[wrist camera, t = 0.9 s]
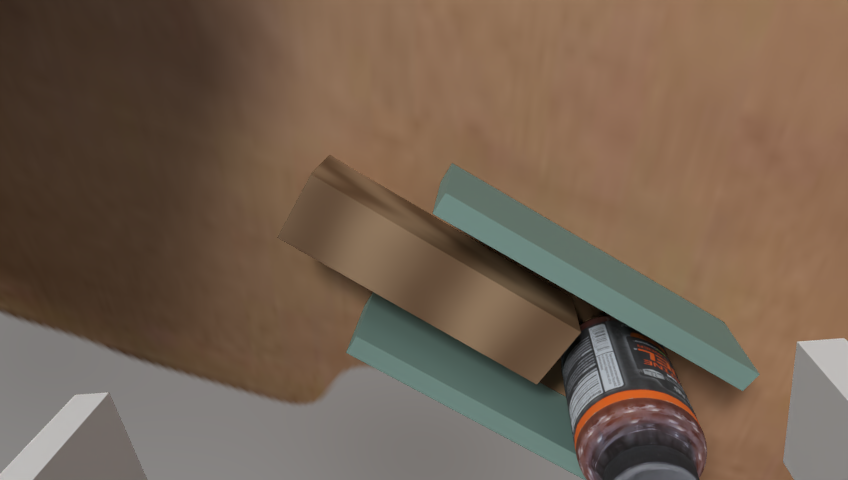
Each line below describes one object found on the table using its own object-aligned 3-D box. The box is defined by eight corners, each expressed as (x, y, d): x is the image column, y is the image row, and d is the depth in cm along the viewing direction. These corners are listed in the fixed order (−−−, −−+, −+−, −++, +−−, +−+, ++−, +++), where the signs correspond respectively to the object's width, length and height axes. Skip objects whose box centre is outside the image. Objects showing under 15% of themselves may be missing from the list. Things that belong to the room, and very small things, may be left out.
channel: (364, 306, 36) (346, 352, 32) (452, 163, 32) (445, 192, 28) (612, 441, 38) (628, 503, 34) (724, 322, 34) (759, 374, 30)
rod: (300, 210, 35) (277, 237, 31) (330, 153, 33) (310, 174, 30) (532, 344, 37) (536, 384, 33) (571, 295, 35) (581, 332, 31)
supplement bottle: (684, 349, 35) (763, 501, 25) (611, 410, 38) (656, 574, 27) (608, 290, 34) (658, 423, 24) (538, 357, 37) (556, 505, 26)
